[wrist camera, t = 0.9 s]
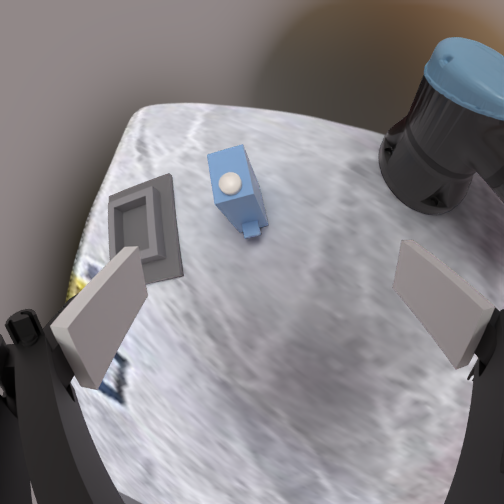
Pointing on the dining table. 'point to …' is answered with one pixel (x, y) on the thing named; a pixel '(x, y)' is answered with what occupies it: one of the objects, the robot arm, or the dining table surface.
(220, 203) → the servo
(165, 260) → the chassis
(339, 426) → the dining table surface
